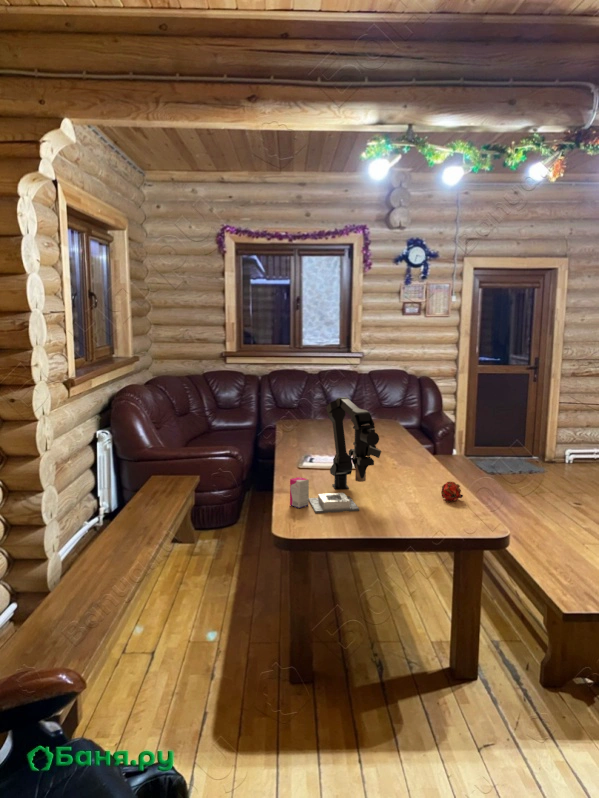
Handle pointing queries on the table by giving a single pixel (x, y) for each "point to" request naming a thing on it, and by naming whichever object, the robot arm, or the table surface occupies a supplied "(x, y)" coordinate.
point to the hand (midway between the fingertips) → (360, 476)
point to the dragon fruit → (451, 491)
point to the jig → (333, 503)
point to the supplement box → (299, 492)
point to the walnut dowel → (357, 476)
